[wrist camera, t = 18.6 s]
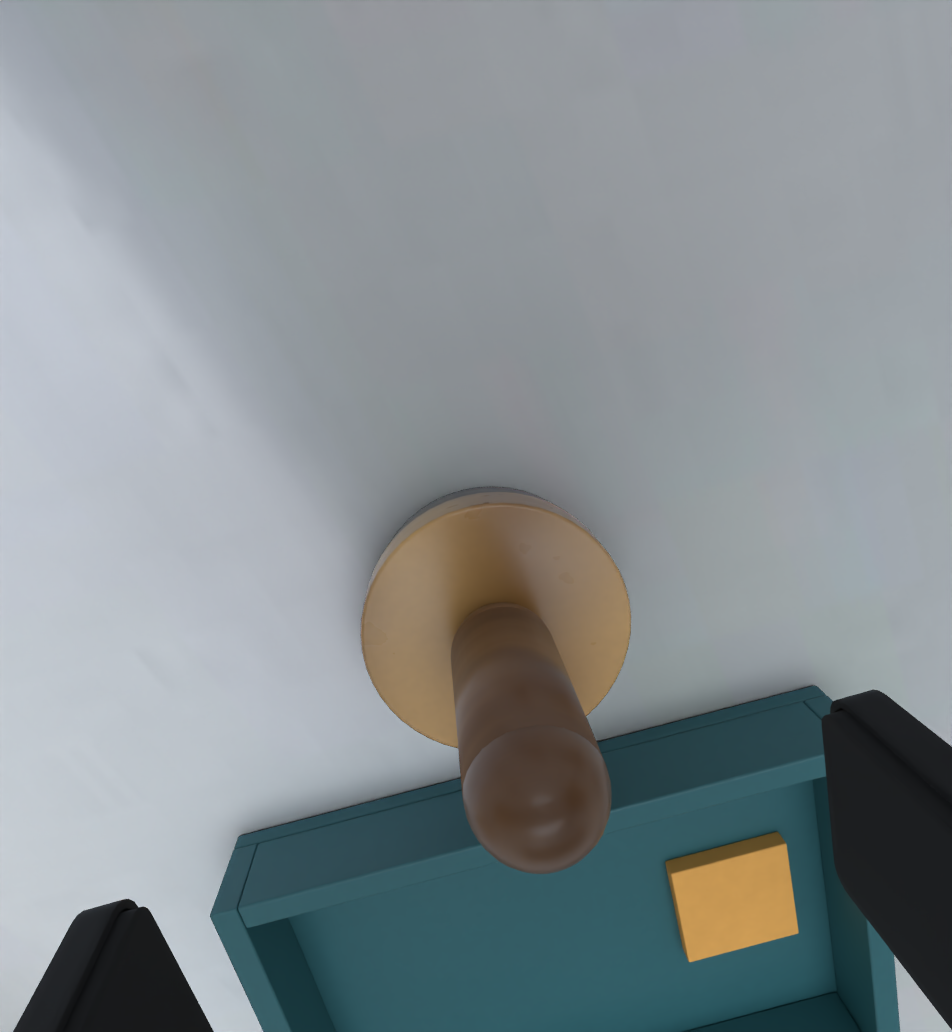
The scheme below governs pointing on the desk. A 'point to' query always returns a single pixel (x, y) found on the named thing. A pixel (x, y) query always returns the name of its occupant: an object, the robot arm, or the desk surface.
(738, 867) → the orange flat square block
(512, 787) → the stamp
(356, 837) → the tray
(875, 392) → the desk surface
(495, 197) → the desk surface
